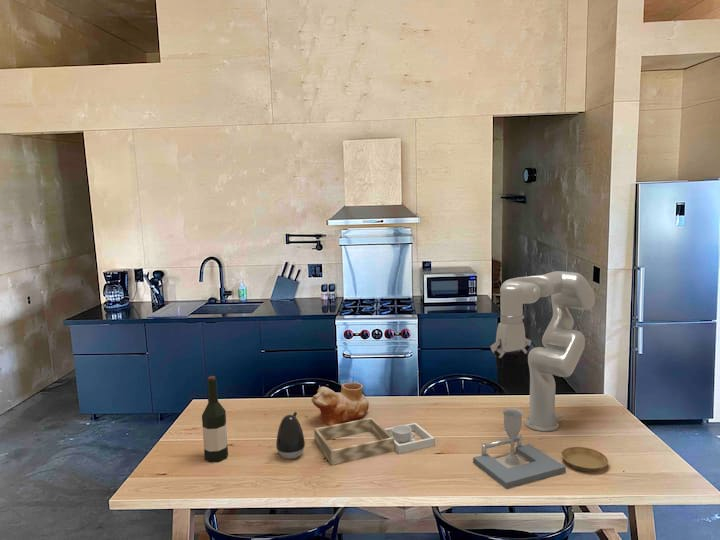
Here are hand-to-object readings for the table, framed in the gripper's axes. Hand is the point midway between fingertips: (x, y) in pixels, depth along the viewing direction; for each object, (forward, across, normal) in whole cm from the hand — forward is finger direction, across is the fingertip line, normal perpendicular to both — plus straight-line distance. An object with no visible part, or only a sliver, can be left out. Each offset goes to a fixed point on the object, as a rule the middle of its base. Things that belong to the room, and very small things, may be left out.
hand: (510, 365), depth 191 cm
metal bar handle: (+30, +8, +6) cm, 32 cm away
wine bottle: (+30, +101, -36) cm, 111 cm away
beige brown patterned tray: (+30, +53, -23) cm, 65 cm away
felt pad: (+30, +8, +11) cm, 33 cm away
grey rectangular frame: (+30, +8, +15) cm, 35 cm away
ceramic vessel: (+30, +48, -49) cm, 75 cm away
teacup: (+30, +35, -20) cm, 50 cm away
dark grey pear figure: (+30, +76, -26) cm, 86 cm away
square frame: (+30, +33, -18) cm, 48 cm away
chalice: (+30, +8, +11) cm, 33 cm away
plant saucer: (+31, -14, +22) cm, 40 cm away
